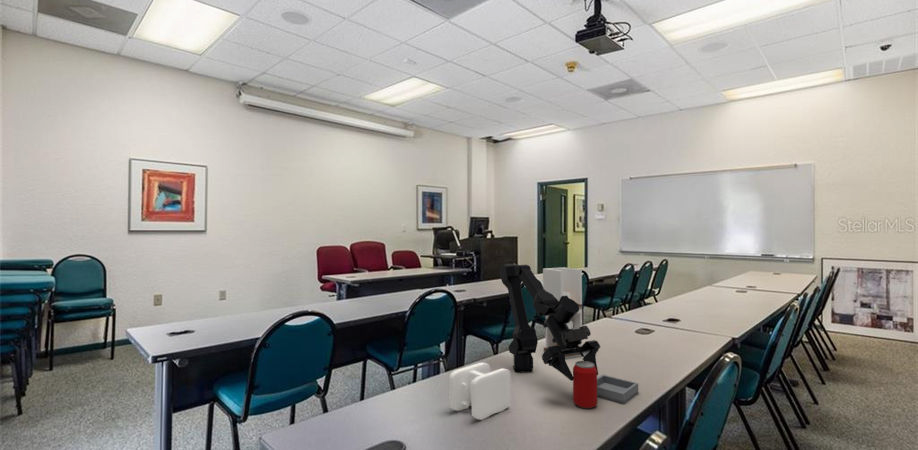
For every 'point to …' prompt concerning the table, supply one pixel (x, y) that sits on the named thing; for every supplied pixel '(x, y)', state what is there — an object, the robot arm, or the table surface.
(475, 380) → the cable organizer
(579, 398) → the beverage can
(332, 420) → the table surface
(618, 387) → the coaster tray
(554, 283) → the display case
